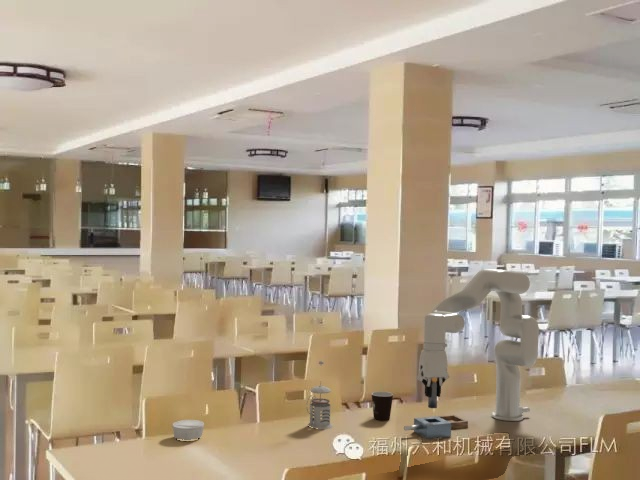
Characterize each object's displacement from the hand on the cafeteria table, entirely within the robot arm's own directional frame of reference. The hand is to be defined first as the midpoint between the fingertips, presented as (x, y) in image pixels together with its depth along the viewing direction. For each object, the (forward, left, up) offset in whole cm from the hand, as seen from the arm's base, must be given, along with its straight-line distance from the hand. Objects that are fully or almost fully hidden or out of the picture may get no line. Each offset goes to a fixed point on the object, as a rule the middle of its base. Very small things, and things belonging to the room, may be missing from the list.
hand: (432, 395), depth 264 cm
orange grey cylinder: (0, 0, -4) cm, 4 cm away
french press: (+37, -22, -15) cm, 45 cm away
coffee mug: (+8, -26, -14) cm, 31 cm away
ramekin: (+87, -21, -15) cm, 91 cm away
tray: (-12, -9, -14) cm, 21 cm away
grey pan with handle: (+3, 0, -14) cm, 15 cm away
